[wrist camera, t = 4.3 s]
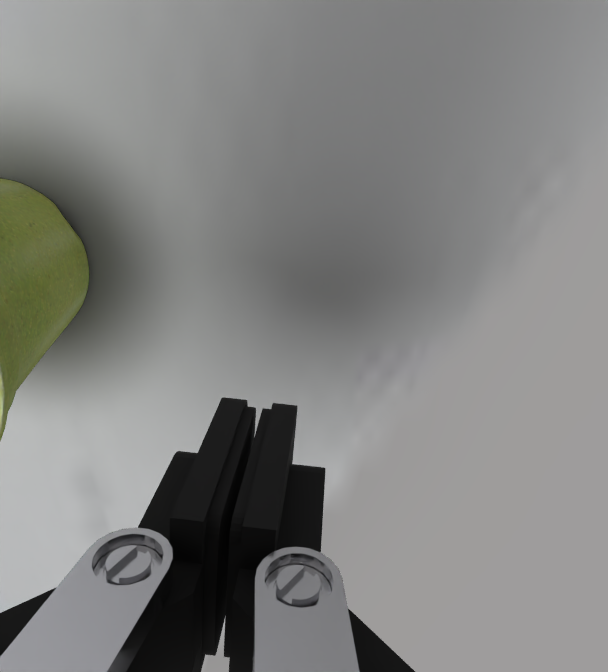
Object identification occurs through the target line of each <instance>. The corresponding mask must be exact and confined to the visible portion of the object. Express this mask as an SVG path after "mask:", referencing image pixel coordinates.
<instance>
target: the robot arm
mask: <svg viewBox="0 0 608 672" xmlns="http://www.w3.org/2000/svg"><path fill="white" fill-rule="evenodd" d="M296 417H297V406H295V405H286V404H277V403H273V405H272V409H263V410H262V413H261V416H260V420H259V423H258V427H257V431H256V434H255V418H256V408H254V407H248V404H247V400H241V399H232V398H222V399H221V401H220V403H219V406H218V408H217V410H216V413H215V415H214V417H213V419H212V422H211V424H210V426H209V429H208V431H207V433H206V435H205V438H204V440H203V442H202V445H201V447H200V449H199V452H198V453H190V452H181V451H178V452H176V453H175V455H174V457H173V459H172V461H171V463H170V465H169V467H168V469H167V471H166V473H165V475H164V477H163V479H162V480H161V482H160V484H159V486H158V488H157V490H156V492H155V494H154V496H153V498H152V500H151V502H150V504H149V506H148V508H147V510H146V512H145V514H144V516H143V518H142V520H141V522H140V524H139V526H138V528H128V529H121V530H118V531H115V532H112V533H109V534H107V535H105V536H104V537H102V538H100V539H98V540H97V541H96V542H95V543H94V544H93V545H92V546H91V547H90V548H89V549H88V550H87V551H86V552H85V554H84V555H83V556H82V557H81V558H80V560H79V561H78V562H77V563H76V565H75V566H74V567H73V568H72V569H71V571H70V572H69V573H68V574H67V576H66V577H65V578H64V579H63V580H62V582H61V583H60V584H59V585H58V587H56V588H54V589H52V590H50V591H48V592H46V593H43V594H41V595H39V596H37V597H35V598H32V599H30V600H28V601H26V602H24V603H21V604H19V605H17V606H15V607H13V608H11V609H8V610H6V611H4V612H2V613H0V672H201V669H202V665H203V661H204V657H205V654H206V655H214V656H215V655H216V652H217V648H218V644H219V640H220V636H221V631H222V627H223V623H224V619H225V615H226V619H225V641H224V657H230V663H229V672H415V671H414V670H413V669H412V668H410V666H408V665H407V664H406V663H405V662H404V661H403V660H402V659H401V658H400V657H399V656H398V655H397V654H396V653H395V652H394V651H393V650H391V648H389V647H388V646H387V645H386V644H385V643H384V642H383V641H382V640H381V639H380V638H379V637H378V636H377V635H376V634H375V633H374V632H373V631H372V630H370V629H369V628H368V627H367V626H366V625H365V624H364V623H363V622H362V621H361V620H360V619H359V618H358V617H357V616H356V615H355V614H353V613H352V612H351V611H350V610H349V609H348V606H347V601H346V595H345V590H344V584H343V580H342V576H341V574H340V571H339V569H338V567H337V566H336V565H335V564H334V562H333V561H332V560H331V559H329V558H328V557H326V556H325V555H323V554H322V553H321V536H322V518H323V501H324V484H325V468H321V467H312V466H304V465H295V464H292V460H293V449H294V438H295V428H296ZM254 434H255V438H254Z"/></svg>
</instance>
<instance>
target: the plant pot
mask: <svg viewBox="0 0 608 672" xmlns="http://www.w3.org/2000/svg"><path fill="white" fill-rule="evenodd" d="M88 284H89V265H88V259H87V255H86V252H85V248H84V245H83V243H82V241H81V239H80V238H79V237H78V235H77V234H76V233H75V232H74V230H73V229H72V228H71V226H70V225H69V223H68V222H67V221H66V220H65V218H64V217H63V216H62V214H61V213H60V211H59V210H58V208H57V207H56V205H55V204H54V203H53V202H52V201H50V200H49V199H48V198H47V197H45V196H44V195H42V194H41V193H39V192H38V191H36V190H34V189H32V188H30V187H28V186H26V185H24V184H21V183H19V182H16V181H12V180H8V179H1V178H0V441H1V438H2V435H3V432H4V429H5V425H6V420H7V414H8V411H9V409H10V407H11V405H12V402H13V399H14V396H15V393H16V390H17V389H18V388H19V386H20V385H21V384H22V383H23V381H24V380H25V379H26V377H27V376H28V375H29V373H30V372H31V371H32V369H33V368H34V367H35V366H36V364H37V363H38V362H39V360H40V359H41V358H42V356H43V355H44V354H45V352H46V351H47V350H48V349H49V348H50V346H51V345H52V344H53V343H54V342H55V340H56V339H57V338H58V337H59V335H60V334H61V333H62V332H63V331H64V329H65V328H66V327H67V326H68V324H69V323H70V322H71V321H72V319H73V318H74V317H75V315H76V314H77V313H78V311H79V310H80V308H81V306H82V304H83V302H84V299H85V297H86V294H87V290H88Z"/></svg>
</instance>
